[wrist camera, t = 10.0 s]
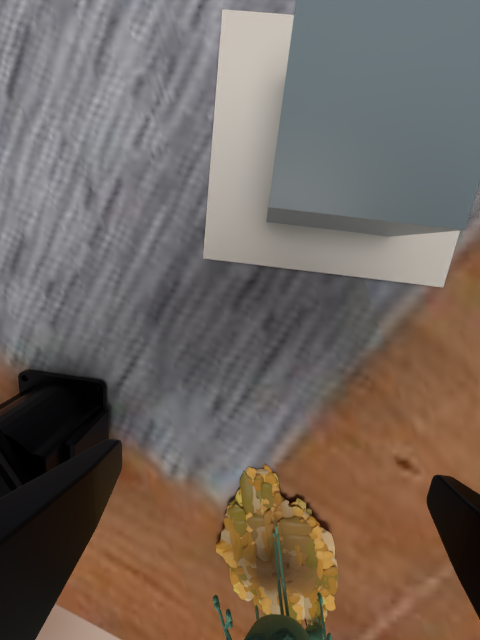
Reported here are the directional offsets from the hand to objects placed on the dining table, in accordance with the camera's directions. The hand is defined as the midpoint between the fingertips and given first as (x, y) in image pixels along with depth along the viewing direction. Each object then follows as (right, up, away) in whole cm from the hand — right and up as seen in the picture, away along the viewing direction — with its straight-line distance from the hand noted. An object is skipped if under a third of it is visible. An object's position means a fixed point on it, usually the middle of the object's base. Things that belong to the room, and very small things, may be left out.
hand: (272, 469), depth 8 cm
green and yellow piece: (+2, -15, +16) cm, 22 cm away
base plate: (+5, +13, +8) cm, 16 cm away
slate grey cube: (+4, +13, +7) cm, 15 cm away
